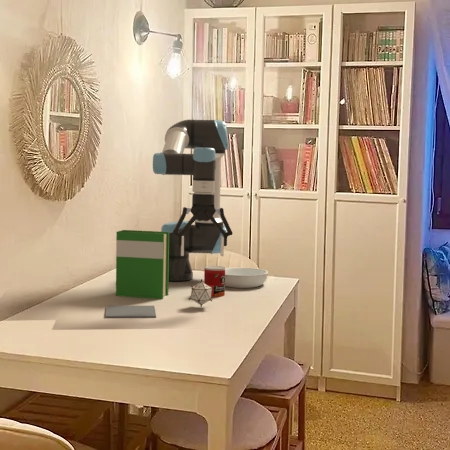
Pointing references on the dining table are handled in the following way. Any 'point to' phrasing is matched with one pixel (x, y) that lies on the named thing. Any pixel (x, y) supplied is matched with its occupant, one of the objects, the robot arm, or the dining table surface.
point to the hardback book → (142, 264)
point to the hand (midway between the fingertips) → (202, 255)
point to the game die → (201, 293)
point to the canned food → (215, 279)
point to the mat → (130, 312)
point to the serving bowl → (244, 277)
